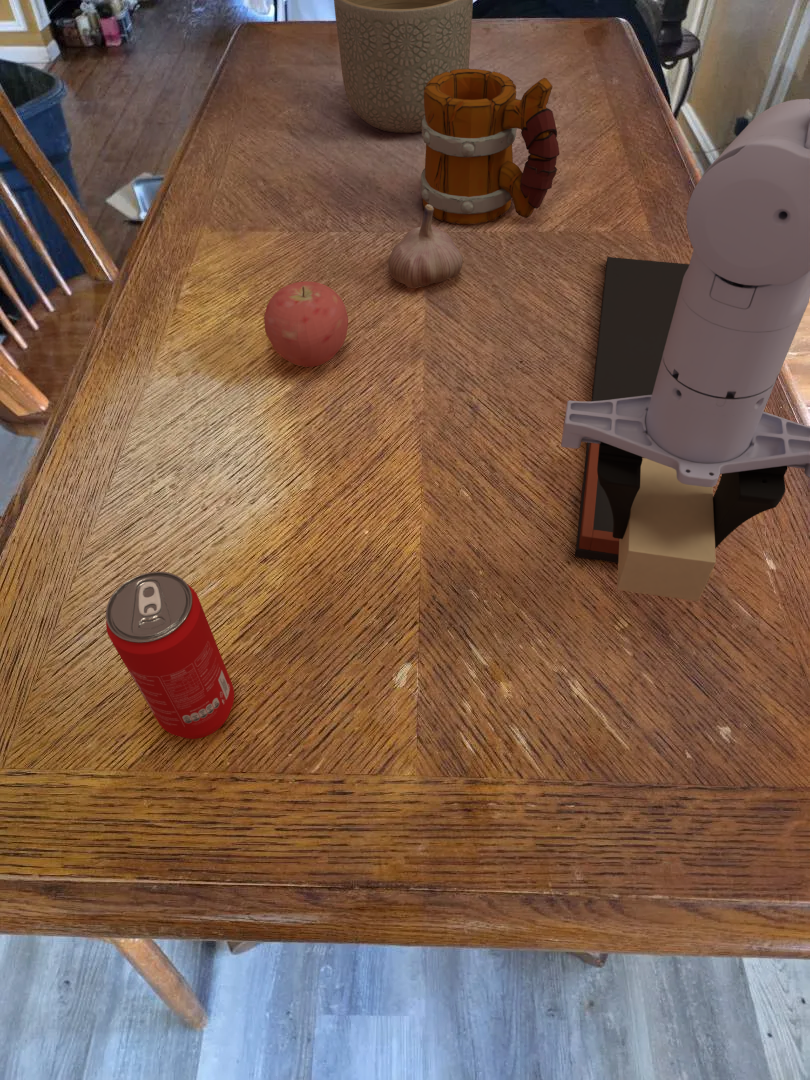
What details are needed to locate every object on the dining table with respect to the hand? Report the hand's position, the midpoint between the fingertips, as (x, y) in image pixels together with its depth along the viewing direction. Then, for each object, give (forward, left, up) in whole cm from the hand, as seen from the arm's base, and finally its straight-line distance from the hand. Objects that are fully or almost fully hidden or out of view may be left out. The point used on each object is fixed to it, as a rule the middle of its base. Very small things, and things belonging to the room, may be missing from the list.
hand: (662, 532), depth 52 cm
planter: (+33, -75, -8) cm, 82 cm away
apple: (+31, -23, -8) cm, 39 cm away
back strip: (+1, -23, -8) cm, 25 cm away
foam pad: (0, 0, -1) cm, 1 cm away
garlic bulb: (+23, -38, -8) cm, 45 cm away
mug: (+19, -53, -8) cm, 57 cm away
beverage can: (+28, +14, -8) cm, 32 cm away
